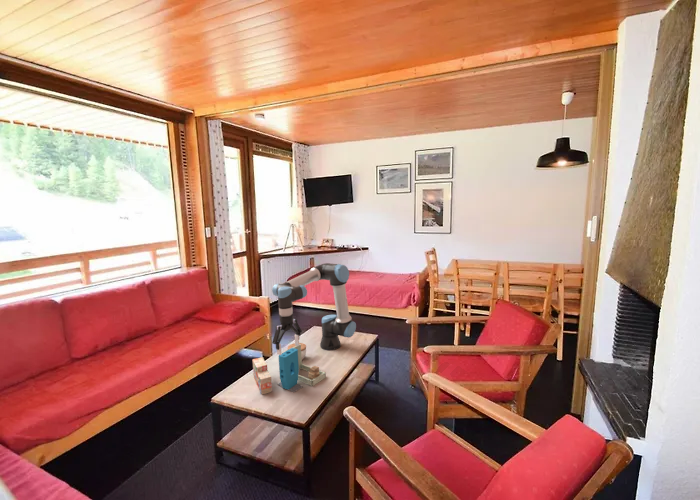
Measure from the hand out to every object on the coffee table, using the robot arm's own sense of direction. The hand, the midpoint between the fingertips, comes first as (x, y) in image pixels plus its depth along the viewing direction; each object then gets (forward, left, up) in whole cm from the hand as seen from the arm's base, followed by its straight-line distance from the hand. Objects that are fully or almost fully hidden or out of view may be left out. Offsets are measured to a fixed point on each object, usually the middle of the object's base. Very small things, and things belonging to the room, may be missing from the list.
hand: (288, 349), depth 185 cm
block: (0, 0, -22) cm, 22 cm away
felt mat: (0, 0, -22) cm, 22 cm away
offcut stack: (-13, +7, -22) cm, 26 cm away
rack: (-13, 0, -22) cm, 25 cm away
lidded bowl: (-26, -21, -22) cm, 40 cm away
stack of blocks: (+8, -15, -22) cm, 28 cm away
